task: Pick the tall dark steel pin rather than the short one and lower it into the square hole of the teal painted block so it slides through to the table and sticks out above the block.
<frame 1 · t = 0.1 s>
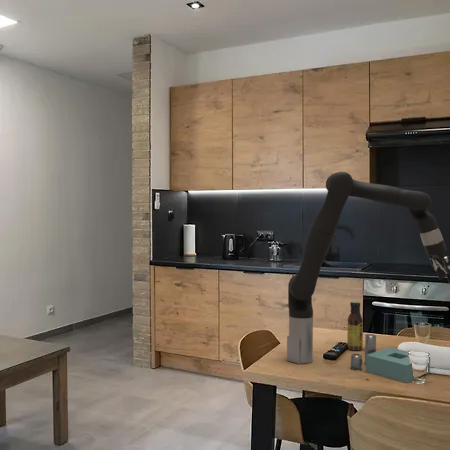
hand: (447, 280, 197), 31 cm above the table, tool tilted 20°, fingers open, 8 cm apart
sauce bottle: (354, 349, 214), on the table
long pin: (370, 364, 193), on the table
hole block: (397, 372, 184), on the table
short pin: (356, 368, 187), on the table
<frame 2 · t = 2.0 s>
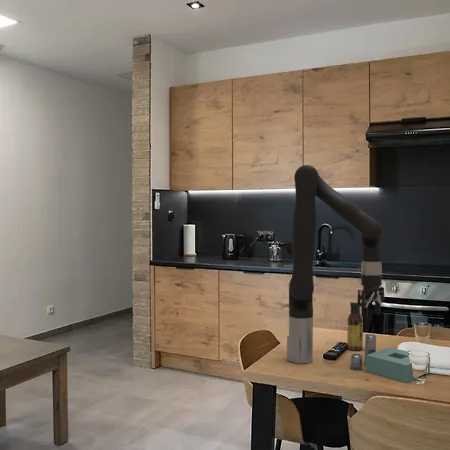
hand: (371, 315, 193), 18 cm above the table, tool pointing down, fingers open, 8 cm apart
nothing on the table moved.
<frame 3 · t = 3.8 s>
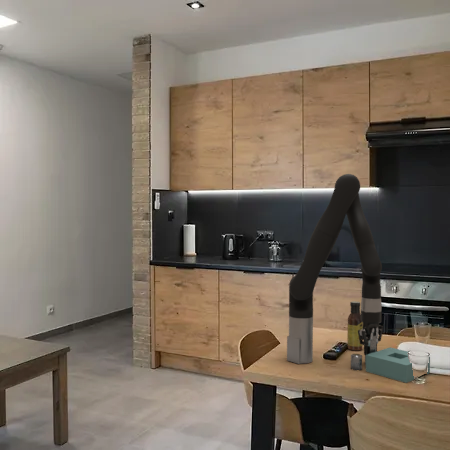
hand: (370, 354, 193), 4 cm above the table, tool pointing down, fingers closed on long pin, 4 cm apart
long pin: (370, 364, 193), on the table, touching gripper
everything else where it was.
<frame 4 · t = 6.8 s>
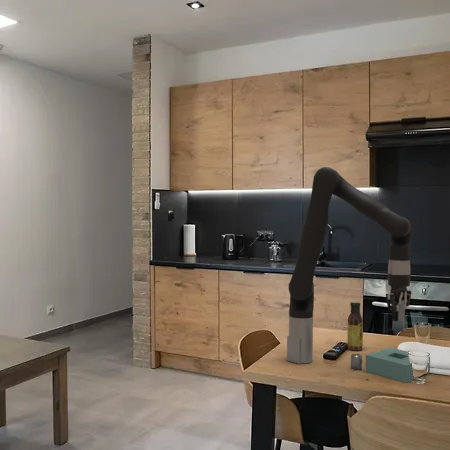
hand: (398, 319, 183), 19 cm above the table, tool pointing down, fingers closed on long pin, 4 cm apart
long pin: (398, 330, 183), point 15 cm above the table, touching gripper
everything else where it was.
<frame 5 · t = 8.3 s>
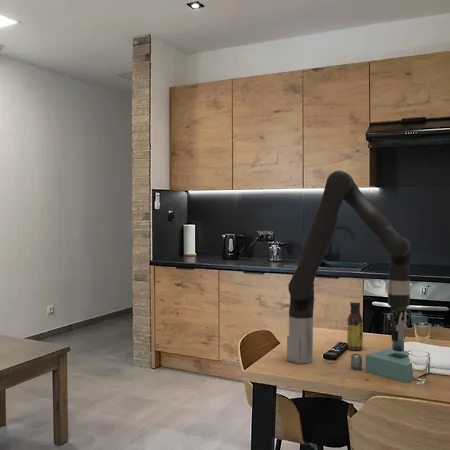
hand: (398, 339, 183), 12 cm above the table, tool pointing down, fingers closed on long pin, 4 cm apart
long pin: (398, 350, 183), point 8 cm above the table, touching gripper
everything else where it was.
when the fingers open (8 cm above the table, at t = 9.7 s): long pin drops 4 cm, resting in hole block.
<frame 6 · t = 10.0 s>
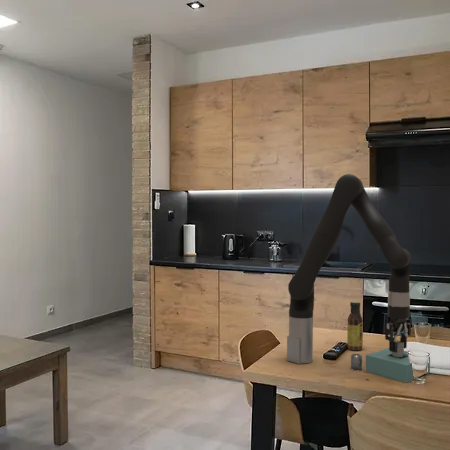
hand: (397, 349, 183), 8 cm above the table, tool pointing down, fingers open, 6 cm apart
long pin: (397, 372, 183), resting in hole block
everything else where it was.
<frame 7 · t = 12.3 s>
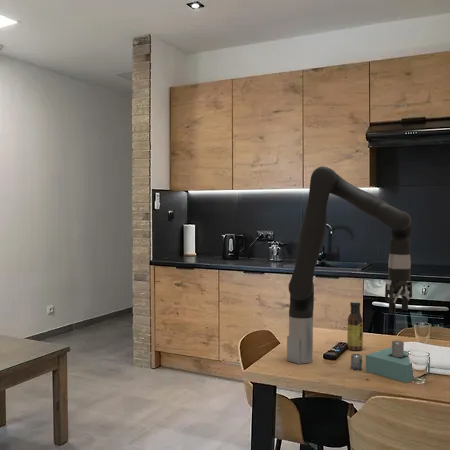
hand: (398, 311, 183), 22 cm above the table, tool pointing down, fingers open, 8 cm apart
nothing on the table moved.
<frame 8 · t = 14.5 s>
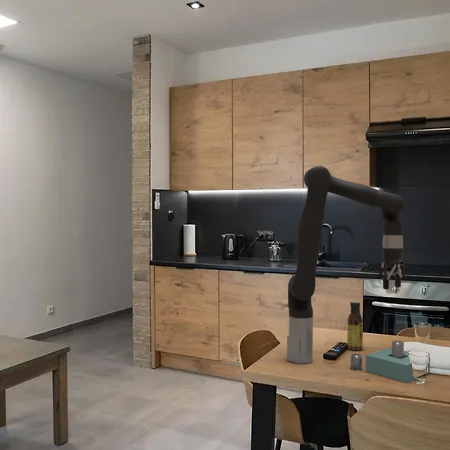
hand: (391, 288, 198), 28 cm above the table, tool pointing down, fingers open, 8 cm apart
nothing on the table moved.
at the end: long pin 0.0 cm off-centre on the hole block, point 0.0 cm above the hole block's base; long pin tilted 0°; short pin moved 0.0 cm from its start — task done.
